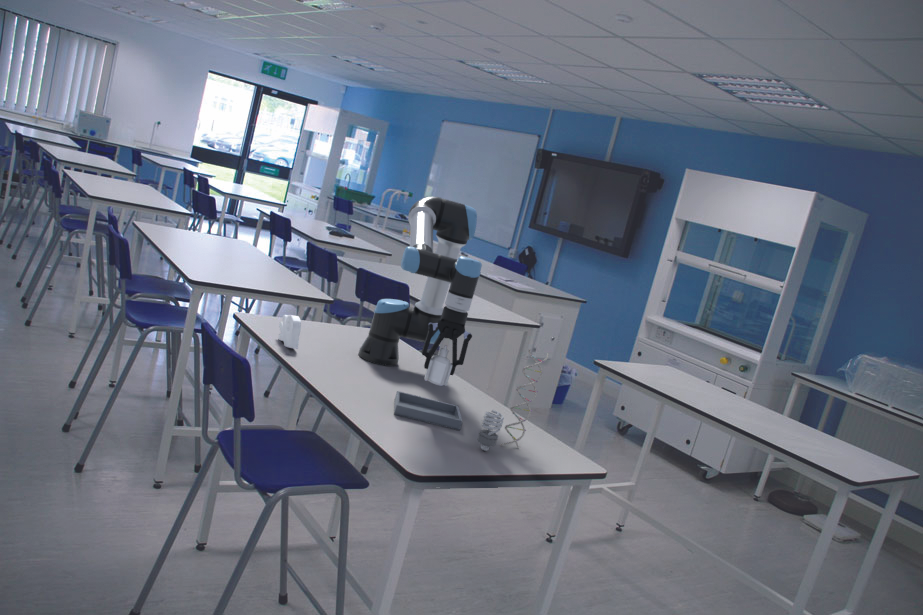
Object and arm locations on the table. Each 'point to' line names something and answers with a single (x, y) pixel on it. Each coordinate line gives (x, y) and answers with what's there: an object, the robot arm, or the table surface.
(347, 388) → the table surface
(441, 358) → the eye dropper bottle
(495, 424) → the light bulb
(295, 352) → the table surface
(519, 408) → the dna model
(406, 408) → the tray
